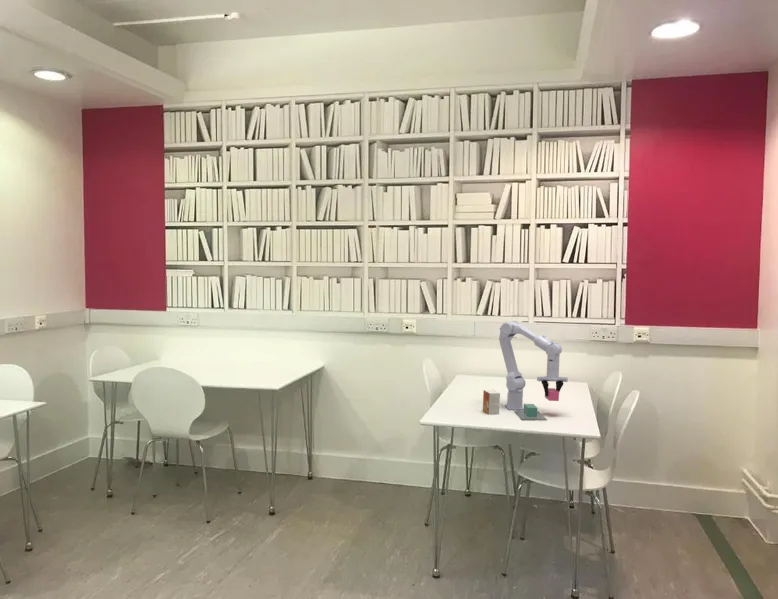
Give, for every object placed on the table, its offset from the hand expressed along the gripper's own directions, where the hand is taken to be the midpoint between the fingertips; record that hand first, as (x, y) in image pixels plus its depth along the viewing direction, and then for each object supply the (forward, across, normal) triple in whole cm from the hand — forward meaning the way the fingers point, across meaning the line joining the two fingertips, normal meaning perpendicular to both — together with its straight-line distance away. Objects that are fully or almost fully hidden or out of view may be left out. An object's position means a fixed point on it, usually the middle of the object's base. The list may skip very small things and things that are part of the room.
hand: (551, 396), depth 305 cm
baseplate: (+9, -11, -3) cm, 15 cm away
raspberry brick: (+1, 0, 0) cm, 1 cm away
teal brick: (+9, -11, -4) cm, 14 cm away
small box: (+10, -29, +3) cm, 31 cm away
